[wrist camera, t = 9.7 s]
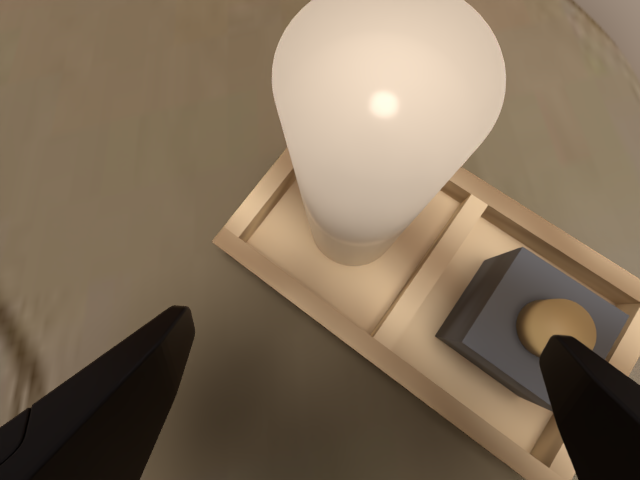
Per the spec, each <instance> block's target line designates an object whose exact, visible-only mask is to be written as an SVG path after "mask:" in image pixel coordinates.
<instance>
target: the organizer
mask: <svg viewBox="0 0 640 480" xmlns="http://www.w3.org/2000/svg"><path fill="white" fill-rule="evenodd" d="M212 242H213V243H214V244H215V245H217V246H218V247H219V248H221V249H222V250H223V251H225V252H226V253H227V254H229V255H230V256H231V257H233V258H234V259H235V260H237V261H238V262H239V263H241V264H242V265H243V266H245V267H246V268H247V269H249V270H250V271H251V272H253V273H254V274H255V275H257V276H258V277H259V278H260V279H262V280H263V281H264V282H266V283H267V284H268V285H270V286H271V287H272V288H274V289H275V290H276V291H278V292H279V293H280V294H282V295H283V296H284V297H286V298H287V299H288V300H290V301H291V302H292V303H294V304H295V305H296V306H298V307H299V308H300V309H301V310H303V311H304V312H305V313H307V314H308V315H309V316H311V317H312V318H313V319H315V320H316V321H317V322H319V323H320V324H321V325H323V326H324V327H325V328H327V329H328V330H329V331H331V332H332V333H333V334H335V335H336V336H337V337H339V338H340V339H341V340H342V341H344V342H345V343H346V344H348V345H349V346H350V347H352V348H353V349H354V350H356V351H357V352H358V353H360V354H361V355H362V356H364V357H365V358H366V359H368V360H369V361H370V362H372V363H373V364H374V365H376V366H377V367H378V368H380V369H381V370H382V371H384V372H385V373H386V374H387V375H389V376H390V377H391V378H393V379H394V380H395V381H397V382H398V383H399V384H401V385H402V386H403V387H405V388H406V389H407V390H409V391H410V392H411V393H413V394H414V395H415V396H417V397H418V398H419V399H421V400H422V401H423V402H425V403H426V404H427V405H428V406H430V407H431V408H432V409H434V410H435V411H436V412H438V413H439V414H440V415H442V416H443V417H444V418H446V419H447V420H448V421H450V422H451V423H452V424H454V425H455V426H456V427H458V428H459V429H460V430H462V431H463V432H464V433H466V434H467V435H468V436H469V437H471V438H472V439H473V440H475V441H476V442H477V443H479V444H480V445H481V446H483V447H484V448H485V449H487V450H488V451H489V452H491V453H492V454H493V455H495V456H496V457H497V458H499V459H500V460H501V461H503V462H504V463H505V464H507V465H508V466H509V467H511V468H512V469H513V470H514V471H516V472H517V473H518V474H520V475H521V476H522V477H524V478H525V479H526V480H572V478H573V476H574V474H575V470H574V467H573V465H572V462H571V460H570V458H569V455H568V453H567V450H566V448H565V445H564V443H563V440H562V438H561V435H560V432H559V430H558V427H557V424H556V421H555V418H554V414H553V411H552V408H551V404H550V401H549V397H548V394H547V390H546V387H545V383H544V380H543V377H542V373H541V370H540V366H539V358H540V355H541V353H542V351H543V349H544V347H545V346H546V344H547V342H548V340H549V338H550V337H551V336H553V335H569V336H572V337H574V338H576V339H577V340H579V341H580V342H581V343H583V344H584V345H585V346H587V347H588V348H589V349H591V350H592V351H594V352H595V353H596V354H598V355H599V356H600V357H602V358H603V359H604V360H606V361H607V362H609V363H610V364H611V365H613V366H614V367H615V368H617V369H618V370H620V371H621V372H622V373H624V374H625V375H626V376H629V374H630V372H631V371H632V369H633V367H634V365H635V363H636V361H637V360H638V358H639V356H640V279H639V278H637V277H635V276H634V275H632V274H631V273H629V272H628V271H626V270H624V269H623V268H621V267H620V266H618V265H616V264H615V263H613V262H612V261H610V260H608V259H607V258H605V257H604V256H602V255H601V254H599V253H597V252H596V251H594V250H593V249H591V248H589V247H588V246H586V245H585V244H583V243H581V242H580V241H578V240H577V239H575V238H574V237H572V236H570V235H569V234H567V233H566V232H564V231H562V230H561V229H559V228H558V227H556V226H554V225H553V224H551V223H550V222H548V221H547V220H545V219H543V218H542V217H540V216H539V215H537V214H535V213H534V212H532V211H531V210H529V209H527V208H526V207H524V206H523V205H521V204H520V203H518V202H516V201H515V200H513V199H512V198H510V197H508V196H507V195H505V194H504V193H502V192H501V191H499V190H497V189H496V188H494V187H493V186H491V185H489V184H488V183H486V182H485V181H483V180H481V179H480V178H478V177H477V176H475V175H474V174H472V173H470V172H469V171H467V170H466V169H464V168H462V167H460V168H459V169H458V170H457V172H456V173H455V174H454V175H453V176H452V177H451V178H450V180H449V181H448V182H447V183H446V184H445V185H444V186H443V187H442V189H441V190H440V191H439V192H438V193H437V194H436V195H435V197H434V198H433V199H432V200H431V201H430V202H429V203H428V204H427V206H426V207H425V208H424V209H423V210H422V211H421V212H420V214H419V215H418V216H417V217H416V218H415V219H414V220H413V221H412V223H411V224H410V225H409V226H408V227H407V228H406V229H405V231H404V232H403V233H402V234H401V235H400V236H399V237H398V239H397V240H396V241H395V242H394V243H393V244H392V245H391V246H390V248H389V249H388V250H387V251H386V252H385V253H384V254H383V255H382V256H381V257H380V258H378V259H377V260H375V261H373V262H371V263H369V264H365V265H361V266H346V265H342V264H339V263H336V262H334V261H332V260H330V259H329V258H327V257H326V256H325V255H324V254H323V253H322V252H321V251H320V250H319V248H318V247H317V245H316V244H315V242H314V239H313V237H312V233H311V229H310V226H309V222H308V219H307V215H306V211H305V208H304V204H303V201H302V197H301V193H300V190H299V186H298V183H297V179H296V175H295V172H294V168H293V165H292V161H291V157H290V154H289V150H288V147H287V148H286V149H285V151H284V152H283V153H282V154H281V156H280V157H279V158H278V159H277V161H276V162H275V163H274V164H273V166H272V167H271V168H270V169H269V171H268V172H267V173H266V174H265V176H264V177H263V178H262V179H261V181H260V182H259V183H258V184H257V186H256V187H255V188H254V189H253V191H252V192H251V193H250V194H249V196H248V197H247V198H246V199H245V201H244V202H243V203H242V204H241V206H240V207H239V208H238V209H237V211H236V212H235V213H234V214H233V216H232V217H231V218H230V219H229V221H228V222H227V223H226V224H225V226H224V227H223V228H222V229H221V231H220V232H219V233H218V234H217V236H216V237H215V238H214V239H213V241H212Z"/></svg>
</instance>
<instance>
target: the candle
mask: <svg viewBox="0 0 640 480" xmlns="http://www.w3.org/2000/svg"><path fill="white" fill-rule="evenodd" d="M272 88H273V95H274V99H275V103H276V107H277V111H278V114H279V118H280V121H281V125H282V129H283V132H284V136H285V139H286V143H287V147H288V150H289V154H290V157H291V161H292V165H293V168H294V172H295V175H296V179H297V183H298V186H299V190H300V193H301V197H302V201H303V204H304V208H305V211H306V215H307V219H308V222H309V226H310V229H311V233H312V237H313V239H314V242H315V244H316V245H317V247H318V248H319V250H320V251H321V252H322V253H323V254H324V255H325V256H326V257H327V258H329V259H330V260H332V261H334V262H336V263H339V264H342V265H346V266H361V265H365V264H369V263H371V262H373V261H375V260H377V259H378V258H380V257H381V256H382V255H383V254H384V253H385V252H386V251H387V250H388V249H389V248H390V246H391V245H392V244H393V243H394V242H395V241H396V240H397V239H398V237H399V236H400V235H401V234H402V233H403V232H404V231H405V229H406V228H407V227H408V226H409V225H410V224H411V223H412V221H413V220H414V219H415V218H416V217H417V216H418V215H419V214H420V212H421V211H422V210H423V209H424V208H425V207H426V206H427V204H428V203H429V202H430V201H431V200H432V199H433V198H434V197H435V195H436V194H437V193H438V192H439V191H440V190H441V189H442V187H443V186H444V185H445V184H446V183H447V182H448V181H449V180H450V178H451V177H452V176H453V175H454V174H455V173H456V172H457V170H458V169H459V168H460V167H461V166H462V165H463V164H464V163H465V161H466V160H467V159H468V158H469V157H470V156H471V155H472V153H473V152H474V151H475V150H476V149H477V148H478V147H479V145H480V144H481V143H482V142H483V141H484V139H485V138H486V137H487V135H488V134H489V133H490V131H491V130H492V128H493V126H494V124H495V122H496V121H497V119H498V116H499V114H500V111H501V108H502V105H503V101H504V96H505V89H506V72H505V63H504V59H503V56H502V52H501V49H500V46H499V44H498V42H497V39H496V37H495V35H494V34H493V32H492V30H491V29H490V27H489V25H488V24H487V23H486V22H485V20H484V19H483V18H482V17H481V15H480V14H479V13H478V12H477V11H476V10H475V9H474V8H473V7H472V6H471V5H469V4H468V3H467V2H465V1H464V0H312V1H310V2H309V3H308V4H307V5H306V6H305V7H303V8H302V9H301V10H300V11H299V13H298V14H297V15H296V16H295V17H294V18H293V19H292V21H291V22H290V24H289V25H288V26H287V28H286V29H285V31H284V33H283V35H282V37H281V39H280V41H279V43H278V46H277V49H276V52H275V56H274V61H273V66H272Z"/></svg>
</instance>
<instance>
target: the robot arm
mask: <svg viewBox="0 0 640 480" xmlns="http://www.w3.org/2000/svg"><path fill="white" fill-rule="evenodd" d="M194 336H195V327H194V323H193V319H192V314H191V310H190V308H189V307H187V306H176V305H174V306H171V307H169V308H168V309H166V310H165V311H164V312H162V313H161V314H159V315H158V316H157V317H155V318H154V319H152V320H151V321H150V322H148V323H147V324H145V325H144V326H143V327H141V328H140V329H138V330H137V331H136V332H134V333H133V334H131V335H130V336H129V337H127V338H126V339H124V340H123V341H121V342H120V343H119V344H117V345H116V346H114V347H113V348H112V349H110V350H109V351H107V352H106V353H105V354H103V355H102V356H100V357H99V358H98V359H96V360H95V361H93V362H92V363H91V364H89V365H88V366H86V367H85V368H84V369H82V370H81V371H79V372H78V373H76V374H75V375H74V376H72V377H71V378H69V379H68V380H67V381H65V382H64V383H62V384H61V385H60V386H58V387H57V388H55V389H54V390H53V391H51V392H50V393H48V394H47V395H46V396H44V397H43V398H41V399H40V400H39V401H37V402H36V403H34V404H33V405H32V407H31V408H27V409H26V410H24V411H23V412H21V413H20V414H19V415H17V416H16V417H14V418H13V419H12V420H10V421H9V422H7V423H6V424H4V425H3V426H1V427H0V480H140V478H141V476H142V473H143V471H144V469H145V466H146V464H147V462H148V459H149V457H150V455H151V452H152V450H153V448H154V445H155V443H156V441H157V439H158V436H159V434H160V432H161V429H162V427H163V425H164V422H165V420H166V418H167V415H168V413H169V411H170V408H171V406H172V404H173V401H174V399H175V396H176V394H177V391H178V388H179V385H180V382H181V379H182V375H183V372H184V369H185V366H186V362H187V359H188V356H189V353H190V349H191V346H192V343H193V340H194ZM539 366H540V370H541V373H542V377H543V380H544V383H545V387H546V390H547V394H548V397H549V401H550V404H551V408H552V411H553V414H554V418H555V421H556V424H557V427H558V430H559V432H560V435H561V438H562V440H563V443H564V445H565V448H566V450H567V453H568V455H569V458H570V460H571V462H572V465H573V467H574V470H575V472H576V475H577V477H578V480H640V385H639V384H637V383H636V382H635V381H633V380H632V379H630V378H629V377H628V376H626V375H625V374H624V373H622V372H621V371H620V370H618V369H617V368H615V367H614V366H613V365H611V364H610V363H609V362H607V361H606V360H604V359H603V358H602V357H600V356H599V355H598V354H596V353H595V352H594V351H592V350H591V349H589V348H588V347H587V346H585V345H584V344H583V343H581V342H580V341H579V340H577V339H576V338H574V337H572V336H569V335H553V336H551V337H550V338H549V340H548V342H547V344H546V346H545V347H544V349H543V351H542V353H541V355H540V358H539Z"/></svg>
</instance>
